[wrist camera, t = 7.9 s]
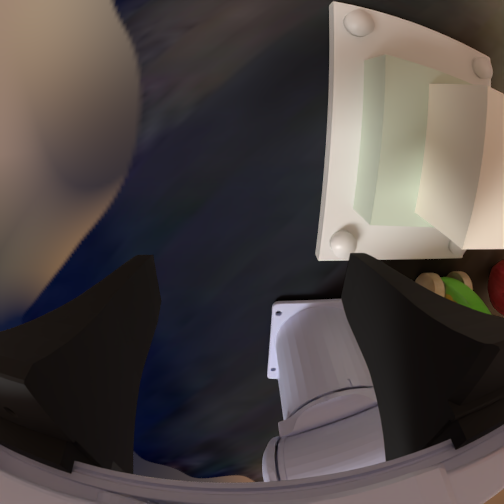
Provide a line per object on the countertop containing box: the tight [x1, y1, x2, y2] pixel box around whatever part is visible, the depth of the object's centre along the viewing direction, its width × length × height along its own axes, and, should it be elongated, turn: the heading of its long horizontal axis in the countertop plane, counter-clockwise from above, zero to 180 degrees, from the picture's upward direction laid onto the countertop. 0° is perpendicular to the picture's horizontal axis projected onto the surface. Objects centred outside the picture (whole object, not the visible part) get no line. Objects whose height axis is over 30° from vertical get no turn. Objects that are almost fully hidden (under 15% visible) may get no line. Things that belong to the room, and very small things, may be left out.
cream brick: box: [415, 84, 504, 249], centre depth 12 cm, size 8×4×5 cm, turn 179°
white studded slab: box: [315, 1, 493, 261], centre depth 16 cm, size 18×14×4 cm
